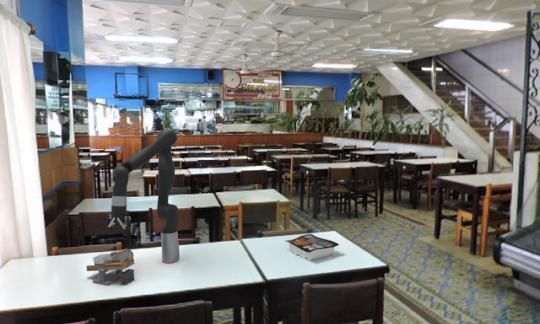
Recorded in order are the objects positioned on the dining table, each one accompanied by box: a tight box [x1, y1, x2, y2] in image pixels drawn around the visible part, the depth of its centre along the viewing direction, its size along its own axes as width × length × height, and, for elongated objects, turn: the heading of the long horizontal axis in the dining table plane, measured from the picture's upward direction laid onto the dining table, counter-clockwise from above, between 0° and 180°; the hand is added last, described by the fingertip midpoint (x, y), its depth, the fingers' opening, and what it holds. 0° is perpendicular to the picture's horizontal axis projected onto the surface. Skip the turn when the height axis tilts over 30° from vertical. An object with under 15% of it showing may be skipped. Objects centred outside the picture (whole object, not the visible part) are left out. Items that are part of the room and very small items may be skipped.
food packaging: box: [285, 233, 340, 262], centre depth 229 cm, size 25×8×23 cm
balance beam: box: [86, 254, 135, 273], centre depth 195 cm, size 8×25×6 cm, turn 67°
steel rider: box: [92, 253, 112, 265], centre depth 197 cm, size 5×7×5 cm
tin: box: [109, 248, 135, 260], centre depth 214 cm, size 15×3×8 cm, turn 135°
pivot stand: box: [92, 268, 135, 287], centre depth 194 cm, size 14×18×7 cm
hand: (117, 235), depth 201 cm, fingers open, 8 cm apart
